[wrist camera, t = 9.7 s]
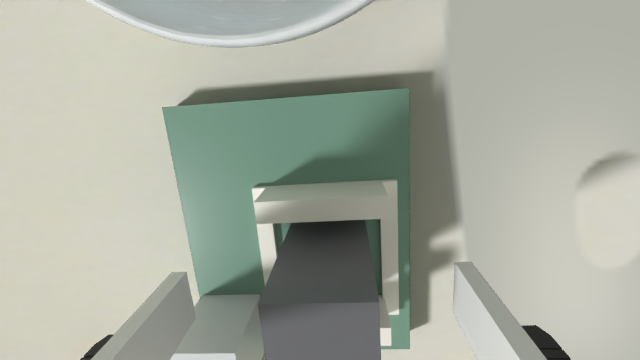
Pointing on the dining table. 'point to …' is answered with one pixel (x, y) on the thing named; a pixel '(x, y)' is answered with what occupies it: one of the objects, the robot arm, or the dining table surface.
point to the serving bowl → (231, 19)
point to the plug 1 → (224, 330)
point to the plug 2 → (322, 295)
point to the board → (295, 186)
